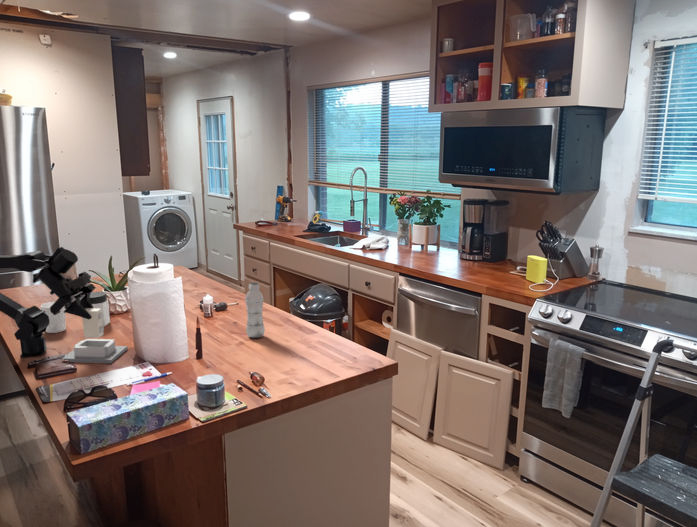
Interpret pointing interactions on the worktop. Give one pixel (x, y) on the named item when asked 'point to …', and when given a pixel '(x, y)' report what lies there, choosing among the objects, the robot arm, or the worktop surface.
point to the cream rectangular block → (93, 323)
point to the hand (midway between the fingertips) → (93, 316)
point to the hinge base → (95, 359)
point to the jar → (101, 305)
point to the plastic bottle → (254, 311)
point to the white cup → (54, 319)
